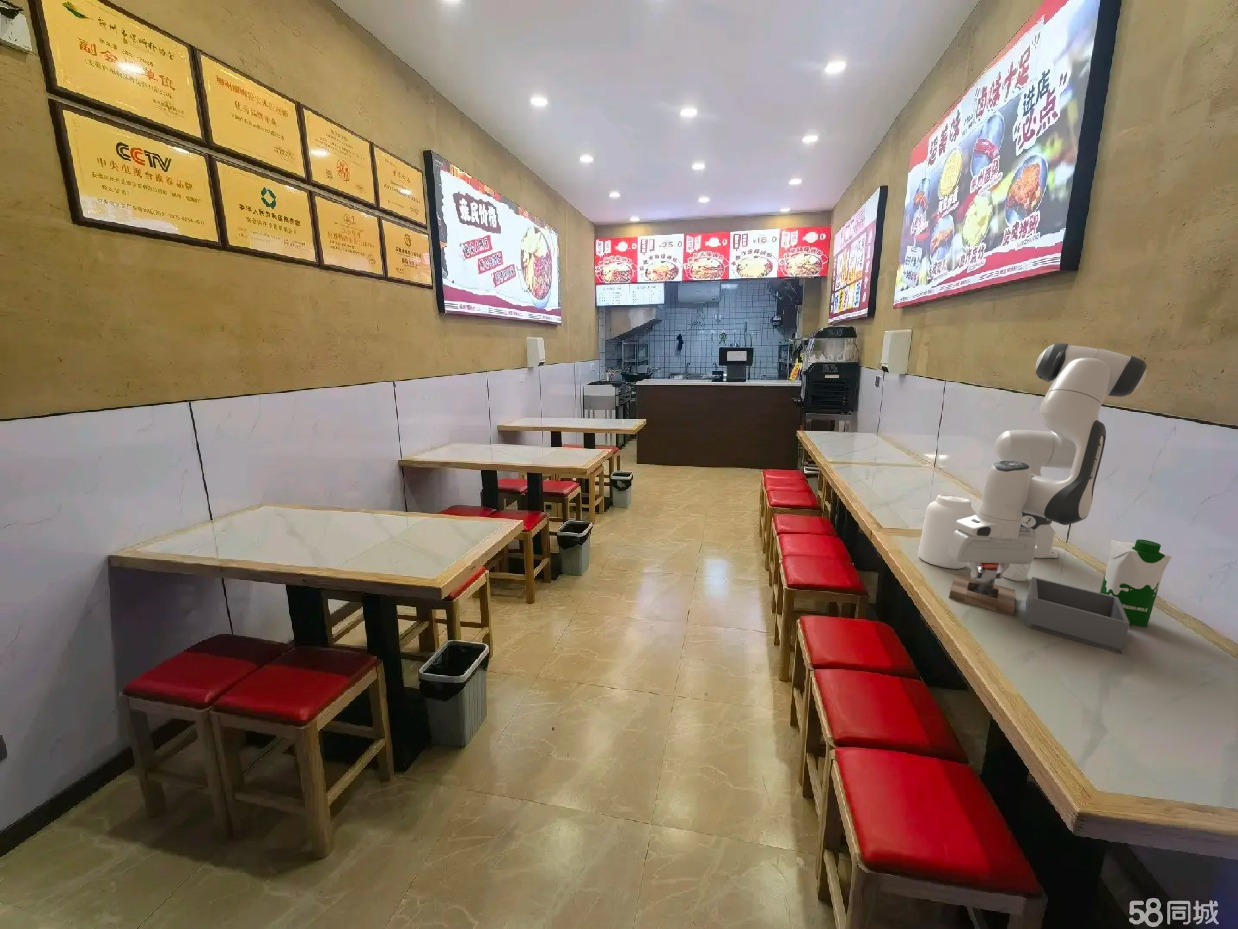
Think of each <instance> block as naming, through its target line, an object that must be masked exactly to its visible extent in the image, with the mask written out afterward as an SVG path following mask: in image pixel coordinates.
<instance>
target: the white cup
mask: <svg viewBox="0 0 1238 929" xmlns="http://www.w3.org/2000/svg"><path fill="white" fill-rule="evenodd" d="M1036 549H1037V546H1035V553H1036ZM1033 561H1034V560H1033ZM1033 561H1032V562H1031V563H1030V564H1009V568H1008V569H1007V570H1006V571H1005V572H1004V573H1003V574H1002V578H1004V579H1008V580H1013V581H1016V582H1025V581H1027V579H1028V575H1029V573H1030V570H1031V567H1032V565H1033Z"/></svg>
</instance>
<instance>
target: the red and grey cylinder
mask: <svg viewBox="0 0 1238 929" xmlns="http://www.w3.org/2000/svg"><path fill="white" fill-rule="evenodd" d="M998 566H999V563H980V566H977V567H978V570H979V571H980V572H982V575H981V578H974V579H975V582H974V587H973V590H975V591H974V592H976V593H979V594H983V595H987V596H992V595H991V594H992V591H993V587H994V584H995V582H996V580H997V579H996V574H997V570H998ZM973 590H972V591H973Z"/></svg>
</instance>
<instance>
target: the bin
mask: <svg viewBox="0 0 1238 929" xmlns="http://www.w3.org/2000/svg"><path fill="white" fill-rule="evenodd" d="M1025 600H1026V601H1025V616H1026V617H1025V620H1026V621H1025V622H1026V623H1025V625H1026V628H1030V629H1033V630H1037V631H1040V632H1043V633H1047V634H1051V635H1054V636H1058V637H1062V638H1065V639H1067V640H1071V641H1075V642H1079V643H1081V644H1085V645H1086V644H1087V645H1088V646H1092V647H1094V648H1095V647H1096V648H1100V649H1103V650H1105V651H1106V650H1107V651H1110V652H1114V653H1117V654H1119V655H1120V654H1121V655H1122V651H1123V647H1124V645H1125V641H1126V639H1127V638H1126V637H1127V635H1128V631H1129V628H1130V625H1131V624H1130V623H1129V621H1128V618H1127V616H1126V614H1125V611H1124V609H1123V607H1122V605H1121V602H1120V600H1119V598H1118V597H1115V596H1111V595H1106V594H1102V593H1100V592H1099V591H1093V590H1089V589H1086V588H1081V587H1077V586H1072V585H1068V584H1064V583H1060V582H1056V581H1052V580H1047V579H1045V578H1039V577H1035V576H1031V580H1030V584H1029V588H1028V592H1027V596H1026V599H1025Z"/></svg>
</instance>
